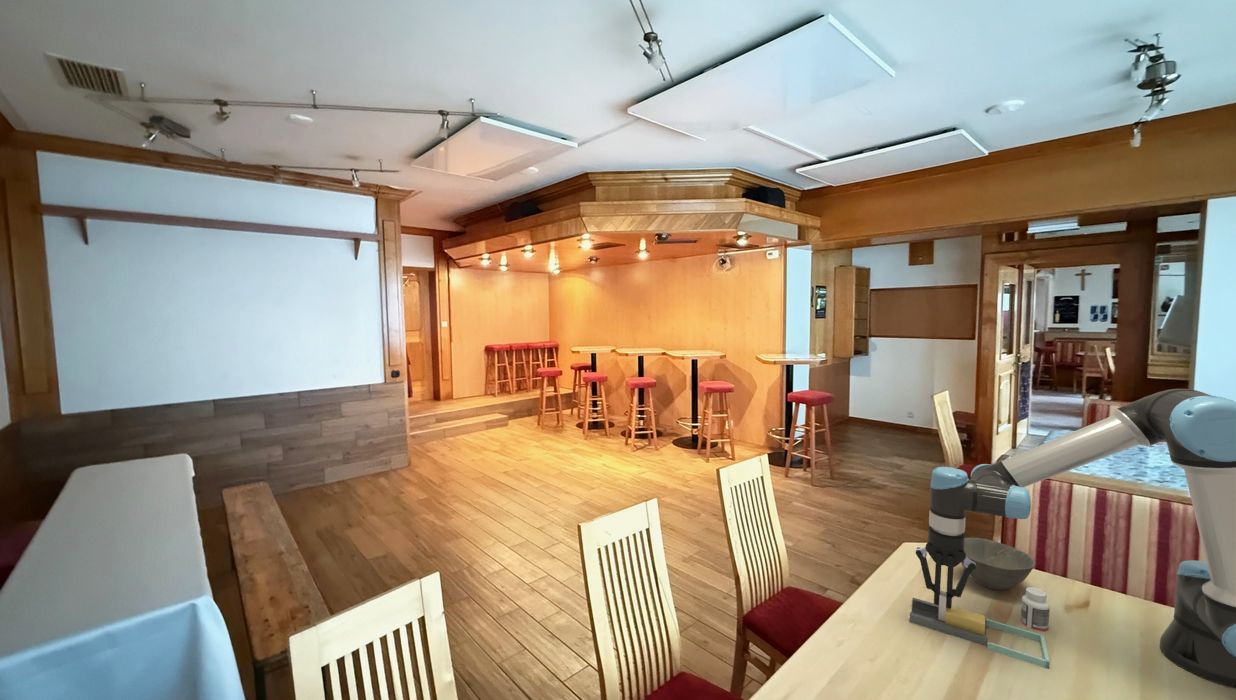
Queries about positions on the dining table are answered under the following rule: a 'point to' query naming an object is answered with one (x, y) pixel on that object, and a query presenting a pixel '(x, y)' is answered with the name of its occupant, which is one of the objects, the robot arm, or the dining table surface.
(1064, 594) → the dining table surface
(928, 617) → the slot rail
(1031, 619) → the pill bottle
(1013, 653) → the tray
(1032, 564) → the bowl
